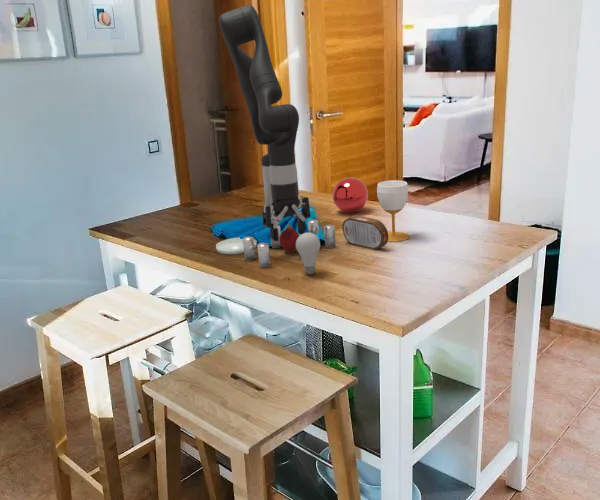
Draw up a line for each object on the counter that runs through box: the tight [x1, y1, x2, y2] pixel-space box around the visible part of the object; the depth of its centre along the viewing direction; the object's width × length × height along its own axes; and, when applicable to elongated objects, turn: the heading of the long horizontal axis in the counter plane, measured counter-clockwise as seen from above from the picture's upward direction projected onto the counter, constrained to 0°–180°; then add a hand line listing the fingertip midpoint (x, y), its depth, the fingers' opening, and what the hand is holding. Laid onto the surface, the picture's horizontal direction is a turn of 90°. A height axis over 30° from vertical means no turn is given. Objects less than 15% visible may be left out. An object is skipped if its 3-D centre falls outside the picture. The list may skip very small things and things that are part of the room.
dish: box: [215, 237, 258, 255], centre depth 177 cm, size 12×12×1 cm
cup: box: [376, 179, 410, 243], centre depth 174 cm, size 9×9×16 cm
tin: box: [342, 214, 389, 250], centre depth 169 cm, size 15×3×8 cm, turn 44°
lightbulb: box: [295, 232, 321, 276], centre depth 151 cm, size 6×6×11 cm
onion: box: [280, 224, 300, 253], centre depth 169 cm, size 6×6×8 cm
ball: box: [331, 177, 369, 214], centre depth 203 cm, size 12×12×12 cm
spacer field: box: [243, 219, 337, 268], centre depth 169 cm, size 25×18×6 cm
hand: (288, 237), depth 168 cm, fingers open, 8 cm apart
